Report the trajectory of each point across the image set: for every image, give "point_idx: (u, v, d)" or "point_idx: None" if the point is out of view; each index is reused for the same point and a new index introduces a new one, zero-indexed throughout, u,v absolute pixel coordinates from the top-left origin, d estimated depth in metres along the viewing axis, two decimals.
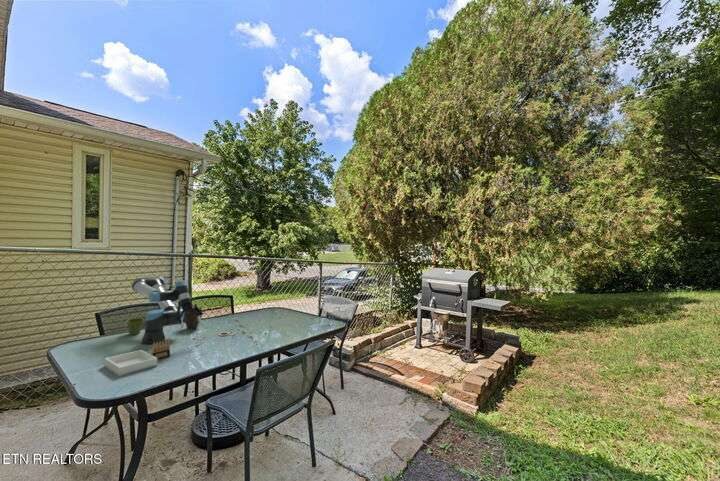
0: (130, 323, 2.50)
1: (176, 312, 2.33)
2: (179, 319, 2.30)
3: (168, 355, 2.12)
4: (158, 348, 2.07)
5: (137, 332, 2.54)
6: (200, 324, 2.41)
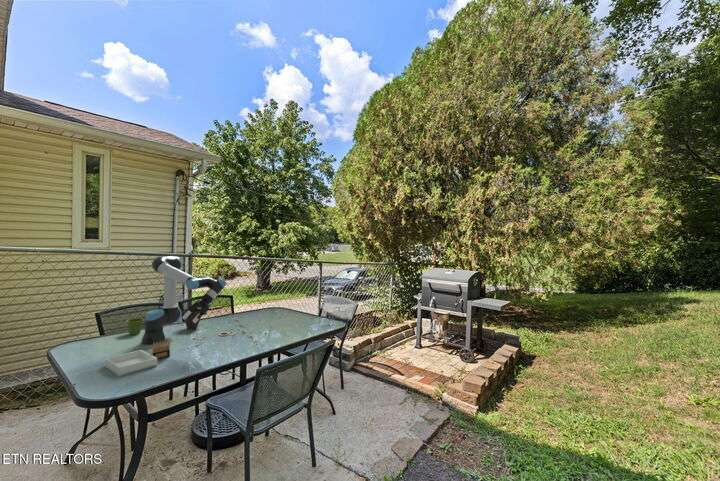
0: (130, 323, 2.50)
1: (206, 306, 2.25)
2: (201, 315, 2.22)
3: (168, 355, 2.12)
4: (158, 348, 2.07)
5: (137, 332, 2.54)
6: (182, 317, 2.26)
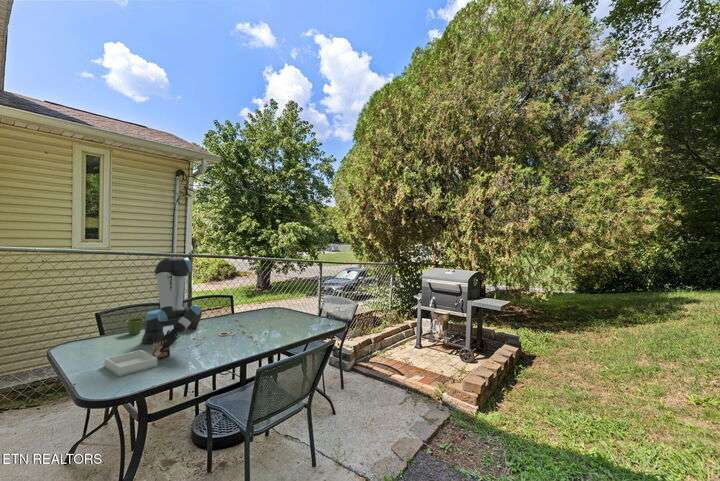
0: (130, 323, 2.50)
1: (172, 339, 2.09)
2: (164, 348, 2.08)
3: (168, 355, 2.12)
4: (158, 348, 2.07)
5: (137, 332, 2.54)
6: None
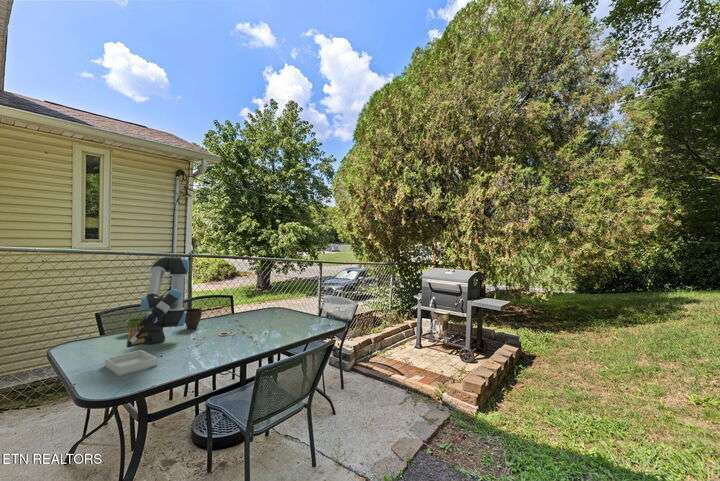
0: (130, 323, 2.50)
1: (149, 324, 1.97)
2: None
3: (145, 341, 2.00)
4: (134, 334, 1.95)
5: None
6: None
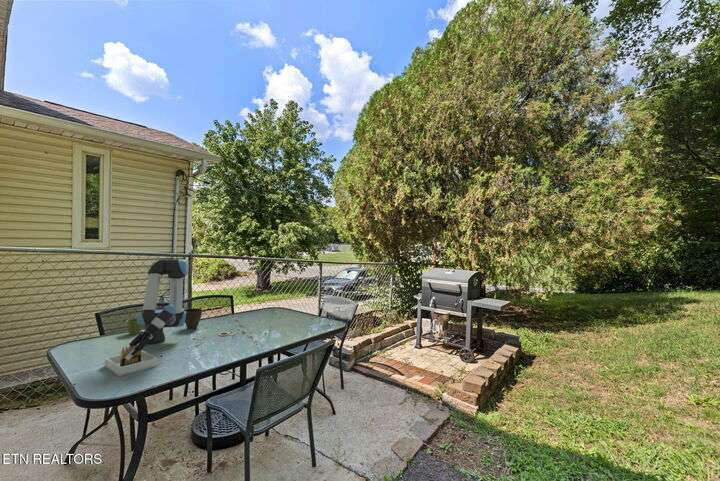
0: (130, 323, 2.50)
1: (145, 341, 1.95)
2: (136, 351, 1.93)
3: (139, 361, 1.98)
4: (128, 353, 1.93)
5: (137, 332, 2.54)
6: None
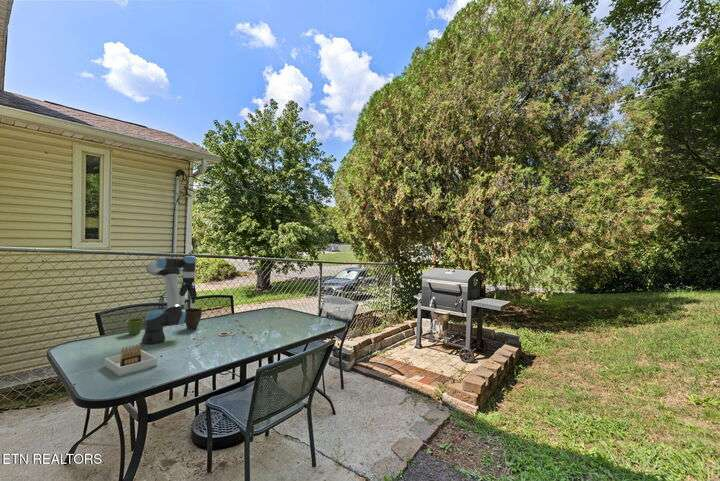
0: (130, 323, 2.50)
1: (192, 290, 2.25)
2: (194, 299, 2.26)
3: (139, 361, 1.98)
4: (128, 353, 1.93)
5: (137, 332, 2.54)
6: (180, 304, 2.33)
